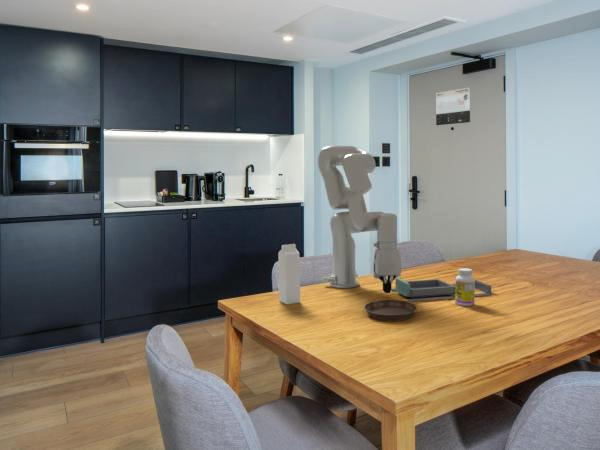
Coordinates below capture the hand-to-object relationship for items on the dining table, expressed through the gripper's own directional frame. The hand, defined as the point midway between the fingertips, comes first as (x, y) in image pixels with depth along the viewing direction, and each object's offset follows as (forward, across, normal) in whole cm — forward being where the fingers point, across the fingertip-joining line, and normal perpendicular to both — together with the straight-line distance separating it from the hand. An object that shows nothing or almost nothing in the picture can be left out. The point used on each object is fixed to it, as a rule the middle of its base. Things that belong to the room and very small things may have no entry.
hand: (387, 292), depth 195 cm
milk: (+2, -38, +4) cm, 38 cm away
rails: (+2, +22, 0) cm, 22 cm away
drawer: (+2, +16, 0) cm, 16 cm away
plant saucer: (+2, -8, -22) cm, 23 cm away
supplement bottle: (+2, +23, -17) cm, 29 cm away
